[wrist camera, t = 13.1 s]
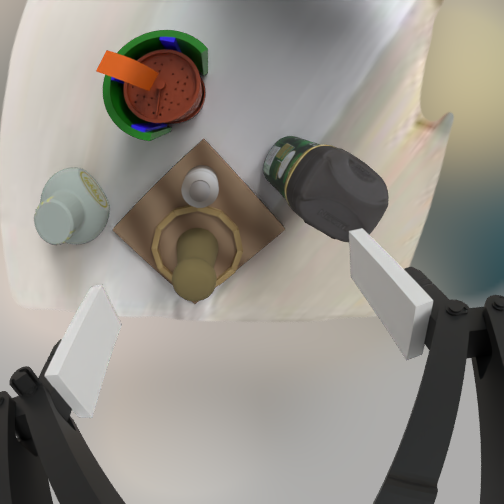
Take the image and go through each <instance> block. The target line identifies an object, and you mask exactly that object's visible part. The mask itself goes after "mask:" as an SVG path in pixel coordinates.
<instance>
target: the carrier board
mask: <svg viewBox="0 0 504 504" xmlns="http://www.w3.org/2000/svg"><path fill="white" fill-rule="evenodd" d="M192 228H203V229H205V230H208V231H209V232H211V233H212V234H213V235H214V236H215V238H216V239H217V242H218V246H219V247H218V254H217V258H216V261H215V265H214V270H215V273H216V277H217V280H216V286H218V285H220V284H222V283H223V282H224V281H225V280H226V279H228V278H229V277H230V276H231V275H232V274H234V273H235V271H236V270H237V269H238V268H239V267H241V266H242V265H243V264H244V263H245V262H247V261H248V260H249V259H250V258H252V257H253V256H254V255H255V254H256V253H258V252H259V251H260V250H261V249H262V248H264V247H265V246H266V245H267V244H268V243H270V242H271V241H272V240H273V239H275V238H276V237H277V236H278V235H279V234H281V233H282V232H283V231H284V230H285V228H284V227H283V225H282V224H281V223H280V222H279V221H278V220H277V218H276V217H275V216H274V215H273V214H272V213H271V212H270V211H269V209H268V208H267V207H266V206H265V205H264V204H263V203H262V202H261V200H260V199H259V198H258V197H257V196H256V195H255V194H254V193H253V191H252V190H251V189H250V188H249V187H248V186H247V185H246V184H245V183H244V181H243V180H242V179H241V178H240V177H239V176H238V175H237V174H236V173H235V172H234V170H233V169H232V168H231V167H230V166H229V165H228V164H227V163H226V162H225V161H224V160H223V159H222V157H221V156H220V155H219V154H218V153H217V152H216V151H215V150H214V149H213V148H212V147H211V146H210V145H209V143H208V142H207V141H206V140H205V139H203V140H202V141H201V142H199V143H198V144H197V145H196V146H195V147H194V148H193V149H192V150H191V151H190V152H188V153H187V154H186V155H185V156H184V157H183V158H182V159H181V160H180V161H179V162H178V163H177V164H176V165H175V166H174V167H173V168H171V169H170V170H169V171H168V172H167V173H166V174H165V175H164V176H163V177H162V178H161V179H160V180H159V181H158V182H157V183H156V184H155V185H154V186H153V187H152V188H151V189H150V190H149V191H148V192H147V193H146V194H145V195H144V196H143V197H142V198H141V199H140V200H139V201H138V203H137V204H136V205H135V206H134V207H133V208H132V209H131V210H130V211H129V212H128V213H127V214H126V215H125V216H124V217H123V218H122V220H121V221H120V222H119V223H118V224H117V225H116V226H115V227H114V229H113V231H114V232H115V233H116V234H117V235H118V236H119V237H120V238H122V239H123V240H124V241H125V242H126V243H127V244H128V245H129V246H130V247H131V248H132V249H133V250H134V251H135V252H136V253H138V254H139V255H140V256H141V257H142V258H143V259H144V260H145V261H146V262H147V263H148V264H150V265H151V266H152V267H153V268H154V269H155V270H156V271H157V272H158V273H160V274H161V275H162V276H163V277H164V278H165V279H166V280H167V281H169V282H170V283H171V284H172V275H173V272H174V269H175V267H176V266H177V265H178V264H177V241H178V239H179V237H180V236H181V235H182V233H184V232H185V231H187V230H188V229H192ZM172 285H173V284H172ZM216 286H215V287H216ZM192 302H193V303H194V304H196V303H197V302H198V301H192Z"/></svg>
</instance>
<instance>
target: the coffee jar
mask: <svg viewBox="0 0 504 504" xmlns="http://www.w3.org/2000/svg"><path fill="white" fill-rule="evenodd" d="M263 171H264V175H265V177H266V179H267V180H268V181H269V182H270V184H272V186H273V187H275V188H276V189H277V190H278V191H279V192H280V194H281V195H282V196H283V197H284V198H285V199H286V200H287V202H288V204H289V206H290V207H291V209H292V210H293V211H294V212H295V213H296V214H298V215H299V216H300V217H301V218H302V219H303V220H304V222H305V223H307V224H309V225H311V226H312V227H314V228H316V229H317V230H319V231H321V232H323V233H324V234H326V235H328V236H329V237H331V238H333V239H338V240H340V241H343V242H349V231H352V230H357V229H361V228H363V229H364V230H365V231H366V232H367V233H368V234H369V235H370V233H371V232H372V231H373V229H374V228H375V227H376V225H377V224H378V222H379V221H380V219H381V218H382V216H383V214H384V212H385V211H386V209H387V207H388V190H387V187H386V184H385V182H384V181H383V179H382V178H381V177H380V176H379V175H378V174H377V173H376V172H375V171H374V170H373V169H371V168H370V167H369V166H368V165H367V164H365V163H364V162H363V161H361V160H360V159H358V158H357V157H355V156H353V155H352V154H350V153H349V152H347V151H345V150H343V149H339V148H336V147H334V146H330V145H320V144H317V143H313V142H310V141H307V140H304V139H301V138H298V137H294V136H287V137H284V138H282V139H280V140H279V141H278V142H277V143H276V144H275V145H274V146H273V148H272V149H271V150H270V152H269V154H268V156H267V158H266V160H265V163H264V167H263Z"/></svg>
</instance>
